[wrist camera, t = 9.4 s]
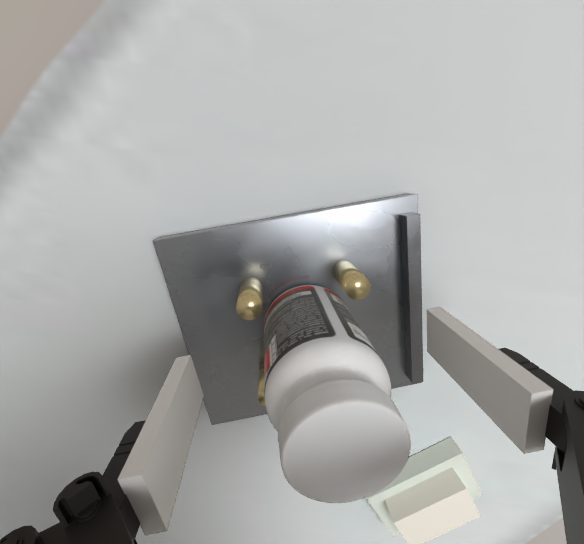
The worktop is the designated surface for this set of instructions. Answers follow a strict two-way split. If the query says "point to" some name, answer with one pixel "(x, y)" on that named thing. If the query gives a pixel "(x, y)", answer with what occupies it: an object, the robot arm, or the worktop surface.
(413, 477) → the soap dish
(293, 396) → the pill bottle
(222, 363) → the plate
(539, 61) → the worktop surface
